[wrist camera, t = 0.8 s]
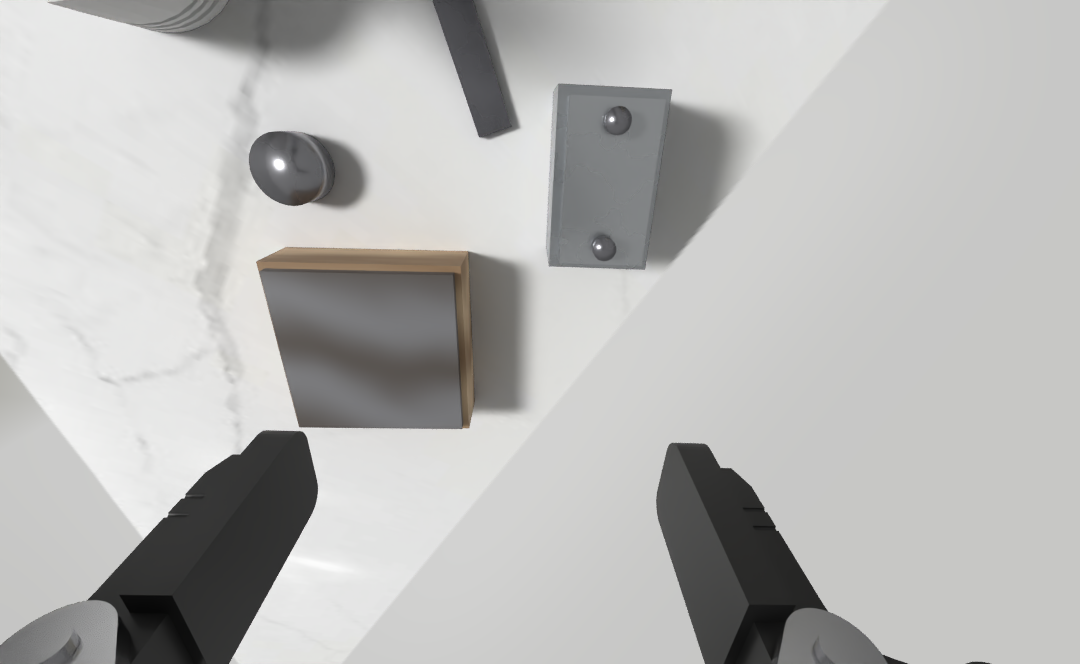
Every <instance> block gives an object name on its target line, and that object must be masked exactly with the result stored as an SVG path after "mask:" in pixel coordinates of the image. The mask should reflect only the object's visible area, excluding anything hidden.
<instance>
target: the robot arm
mask: <svg viewBox="0 0 1080 664" xmlns="http://www.w3.org/2000/svg"><path fill="white" fill-rule="evenodd" d="M317 494H318V484H317V479H316V475H315V470H314V466H313V462H312V457H311V453H310V449H309V444H308V440H307V437H306V435H305V434H304V433H303V432H301V431H269V430H266V431H262V432H261V433H259V434H258V435H257V436H256V437H255V438H254V440H253V441H252V442H251V443H250V444H249V445H248V446H247V448H246V449H245V450H244V451H243V452H242V453H241V455H231V456H230V457H228V458H227V459H225V460H224V461H222V462H221V463H219V464H218V465H216V466H215V467H213V468H212V469H210V470H209V471H207V472H206V473H205V474H204V475H203V476H202V477H201V478H200V479H199V480H198V481H197V482H196V483H195V484H194V486H193V487H192V488H191V489H190V490H189V491H188V492H187V493H186V496H185V498H184V499H181V500H180V501H179V502H178V503H177V504H176V505H175V506H174V507H173V508H172V509H171V511H170V512H169V515H168V517H167V518H163V519H162V520H161V521H160V522H159V524H158V525H157V526H156V527H155V528H154V529H153V530H152V531H151V532H150V533H149V534H148V535H147V537H146V538H145V539H144V540H143V541H142V542H141V543H140V544H139V545H138V546H137V547H136V549H135V550H134V551H133V552H132V553H131V554H130V555H129V556H128V557H127V558H126V559H125V560H124V562H123V563H122V564H121V565H120V566H119V567H118V568H117V569H116V570H115V571H114V572H113V573H112V575H111V576H110V577H109V578H108V579H107V580H106V581H105V582H104V583H103V584H102V585H101V587H100V588H99V589H98V590H97V591H96V592H95V593H94V594H93V595H92V596H91V597H90V598H89V599H88V600H87V601H82V602H77V603H74V604H70V605H67V606H64V607H61V608H59V609H56V610H54V611H52V612H50V613H48V614H46V615H43V616H42V617H40V618H38V619H36V620H35V621H33V622H31V623H29V624H28V625H26V626H25V627H23V628H22V629H20V630H19V631H17V632H16V633H15V634H14V635H12V636H11V637H10V638H8V639H7V640H6V641H5V642H4V643H3V644H1V645H0V664H229V662H230V661H231V659H232V657H233V655H234V654H235V652H236V650H237V648H238V646H239V644H240V643H241V641H242V639H243V637H244V635H245V634H246V632H247V630H248V628H249V626H250V625H251V623H252V621H253V619H254V617H255V616H256V614H257V612H258V610H259V608H260V607H261V605H262V603H263V601H264V599H265V598H266V596H267V594H268V592H269V590H270V589H271V587H272V585H273V583H274V581H275V579H276V578H277V576H278V574H279V572H280V570H281V569H282V567H283V565H284V563H285V561H286V560H287V558H288V556H289V554H290V552H291V551H292V549H293V547H294V545H295V543H296V542H297V540H298V538H299V536H300V534H301V533H302V531H303V529H304V527H305V525H306V524H307V522H308V520H309V518H310V516H311V514H312V512H313V510H314V507H315V504H316V500H317ZM656 503H657V515H658V520H659V523H660V526H661V529H662V532H663V536H664V539H665V542H666V545H667V548H668V551H669V554H670V557H671V560H672V563H673V566H674V569H675V572H676V576H677V578H678V581H679V585H680V588H681V591H682V594H683V597H684V600H685V603H686V606H687V610H688V613H689V616H690V619H691V622H692V625H693V628H694V631H695V634H696V637H697V640H698V643H699V646H700V650H701V653H702V656H703V659H704V661H705V664H907V663H904V662H901V661H898V660H895V659H892V658H890V657H887V656H885V655H882V654H881V652H880V651H879V650H878V649H877V647H876V646H875V645H874V644H873V643H872V642H871V641H870V640H869V638H868V637H867V636H865V635H864V634H863V633H862V632H861V631H860V630H859V629H857V628H856V627H855V626H853V625H852V624H851V623H849V622H848V621H846V620H844V619H842V618H841V617H839V616H837V615H835V614H833V613H830V612H828V611H827V609H826V608H825V606H824V605H823V603H822V602H821V600H820V598H819V597H818V595H817V593H816V592H815V590H814V589H813V587H812V585H811V584H810V582H809V580H808V579H807V577H806V575H805V574H804V572H803V571H802V569H801V567H800V566H799V564H798V562H797V561H796V559H795V557H794V556H793V554H792V552H791V551H790V549H789V548H788V546H787V544H786V543H785V541H784V539H783V538H782V536H781V534H780V533H779V531H776V529H775V527H776V526H775V525H774V523H773V521H772V520H771V518H770V516H769V515H768V513H767V512H765V511H764V506H763V505H762V503H761V502H760V501H759V498H758V497H757V495H756V493H755V492H754V490H753V489H752V487H751V486H750V485H749V484H748V483H747V482H746V481H745V480H743V479H742V478H741V477H740V476H739V475H738V474H737V473H736V472H734V470H732V469H731V468H720V466H719V464H718V463H717V461H716V459H715V457H714V455H713V454H712V452H711V450H710V448H709V447H708V446H707V445H706V444H695V443H671V444H670V445H669V446H668V449H667V452H666V457H665V461H664V465H663V469H662V474H661V478H660V482H659V487H658V491H657V499H656ZM967 664H990V663H985V662H970V663H967Z"/></svg>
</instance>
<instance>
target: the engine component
mask: <svg viewBox="0 0 1080 664" xmlns="http://www.w3.org/2000/svg"><path fill="white" fill-rule="evenodd" d="M228 1H229V0H48V3H50V4H54V5H58V6H62V7H65V8H69V9H73V10H76V11H79V12H83V13H87V14H91V15H95V16H99V17H102V18H106V19H110V20H114V21H118V22H122V23H126V24H130V25H133V26H138V27H141V28H145V29H150V30H155V31H160V32H184V31H190V30H193V29H195V28H198V27H200V26H202V25H204V24H207V23H208V22H209V21H211V20H212V19H213V18H214V17H215V16H217V15H218V14H219V13H220V12H221V11H222V9H223V8H224V6H225V5H226V4H227V2H228Z"/></svg>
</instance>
